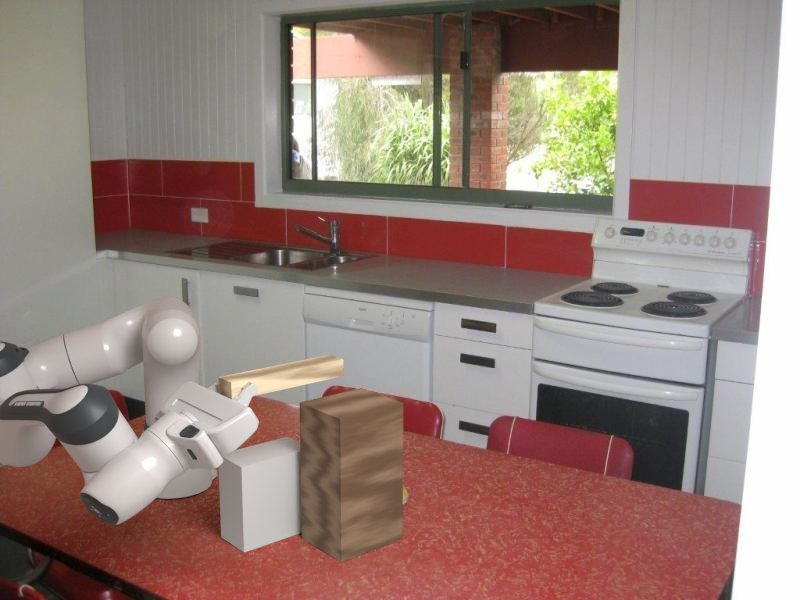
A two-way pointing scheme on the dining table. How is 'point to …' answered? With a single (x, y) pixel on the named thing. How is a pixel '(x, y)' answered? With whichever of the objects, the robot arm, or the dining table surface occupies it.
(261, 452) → the grey step
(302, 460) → the walnut block
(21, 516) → the dining table surface
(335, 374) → the oak slat
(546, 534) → the dining table surface
